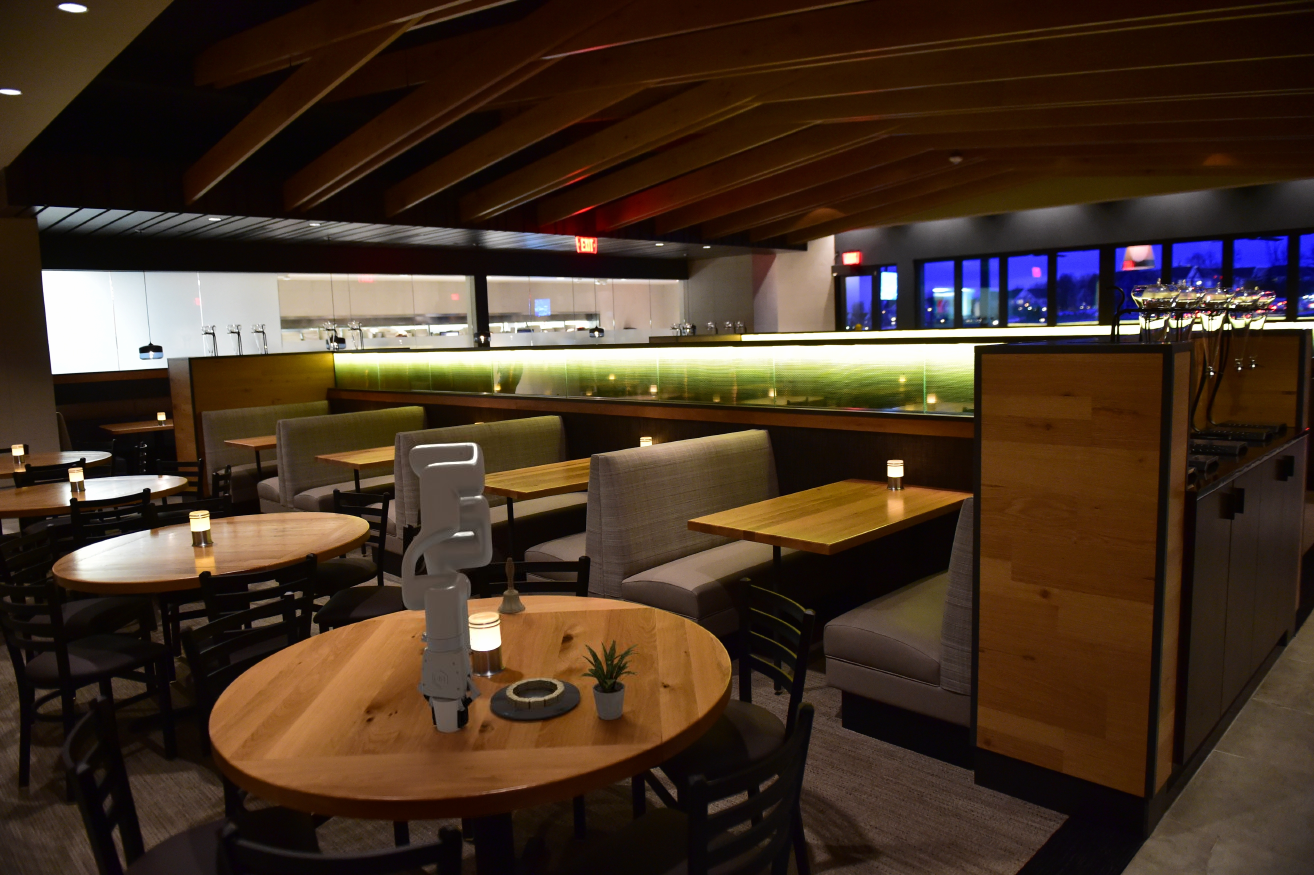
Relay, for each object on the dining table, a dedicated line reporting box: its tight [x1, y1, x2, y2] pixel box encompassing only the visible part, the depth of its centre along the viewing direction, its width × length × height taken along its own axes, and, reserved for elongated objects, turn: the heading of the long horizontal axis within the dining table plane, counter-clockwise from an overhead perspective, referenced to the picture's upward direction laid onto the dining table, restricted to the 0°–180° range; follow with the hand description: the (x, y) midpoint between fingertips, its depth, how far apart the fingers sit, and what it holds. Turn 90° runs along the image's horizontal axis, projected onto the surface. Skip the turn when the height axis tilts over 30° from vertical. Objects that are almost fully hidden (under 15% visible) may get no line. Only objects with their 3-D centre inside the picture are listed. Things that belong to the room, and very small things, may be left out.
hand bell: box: [497, 557, 526, 614], centre depth 256 cm, size 8×8×16 cm
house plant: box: [579, 639, 641, 721], centre depth 180 cm, size 14×14×16 cm
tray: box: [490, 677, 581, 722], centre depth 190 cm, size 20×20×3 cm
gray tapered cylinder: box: [432, 695, 465, 733], centre depth 179 cm, size 7×7×7 cm
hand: (450, 723), depth 179 cm, fingers closed on gray tapered cylinder, 5 cm apart
